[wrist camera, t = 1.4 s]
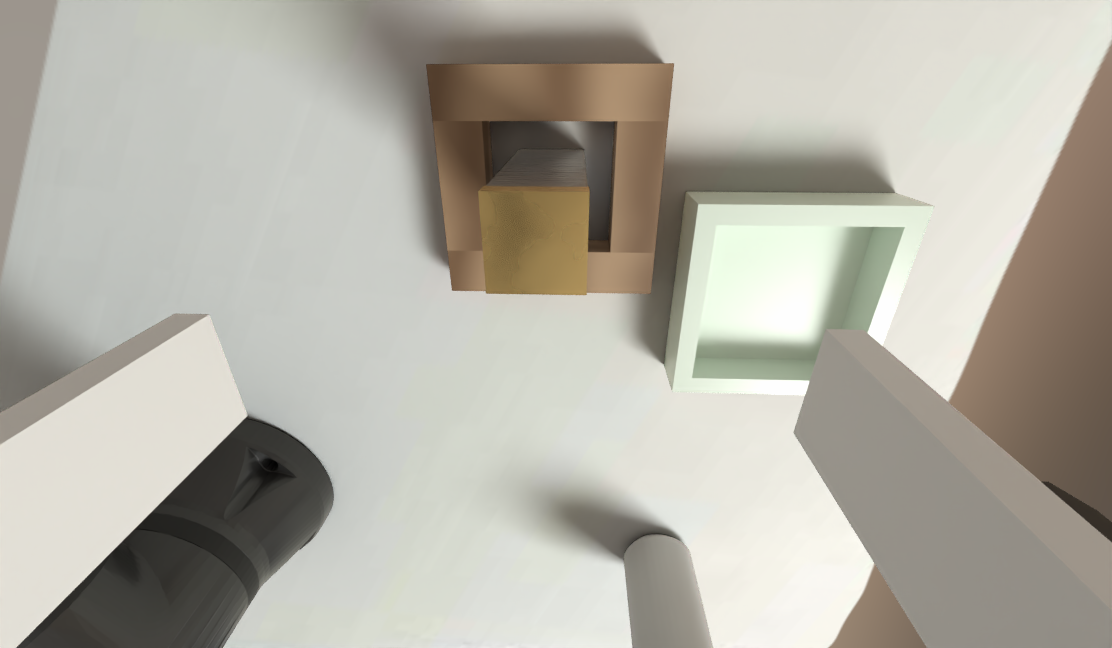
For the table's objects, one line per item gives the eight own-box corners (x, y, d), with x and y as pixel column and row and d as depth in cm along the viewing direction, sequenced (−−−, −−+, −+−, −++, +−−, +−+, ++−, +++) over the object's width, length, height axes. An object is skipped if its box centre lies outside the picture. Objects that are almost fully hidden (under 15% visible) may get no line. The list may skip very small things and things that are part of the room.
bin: (663, 364, 35) (672, 391, 32) (685, 191, 29) (698, 204, 26) (837, 368, 35) (863, 396, 32) (896, 193, 29) (934, 206, 26)
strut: (521, 214, 30) (486, 293, 19) (518, 148, 28) (478, 191, 17) (583, 214, 30) (586, 294, 19) (585, 148, 28) (589, 192, 17)
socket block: (460, 276, 33) (452, 290, 30) (438, 66, 27) (426, 64, 24) (645, 279, 32) (650, 293, 30) (666, 65, 26) (674, 63, 24)
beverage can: (641, 520, 43) (662, 663, 33) (701, 540, 44) (740, 685, 34) (612, 560, 46) (622, 703, 35) (668, 578, 47) (695, 723, 36)
